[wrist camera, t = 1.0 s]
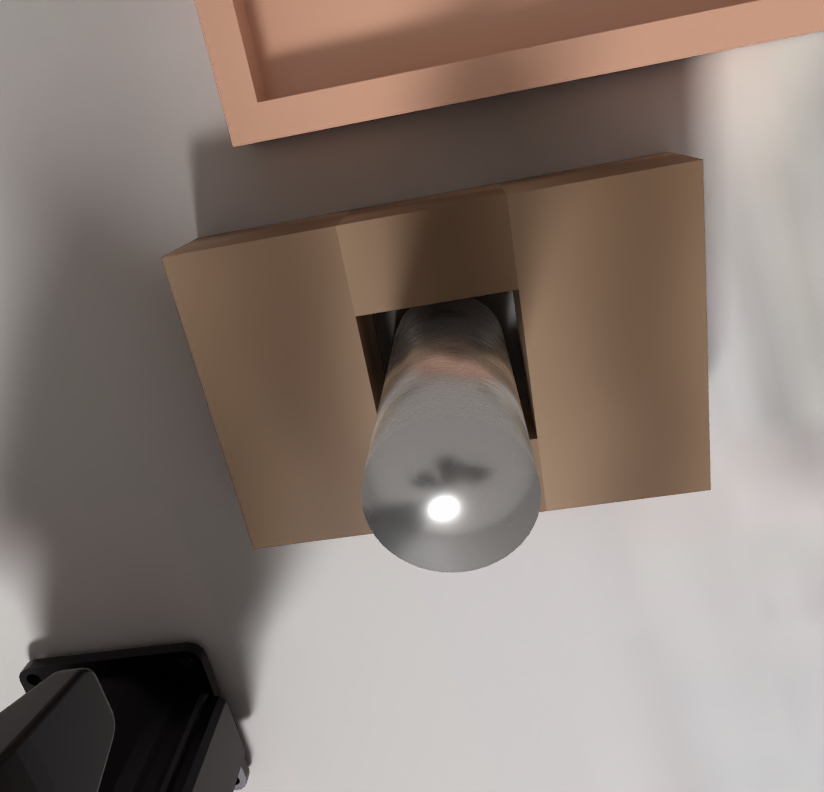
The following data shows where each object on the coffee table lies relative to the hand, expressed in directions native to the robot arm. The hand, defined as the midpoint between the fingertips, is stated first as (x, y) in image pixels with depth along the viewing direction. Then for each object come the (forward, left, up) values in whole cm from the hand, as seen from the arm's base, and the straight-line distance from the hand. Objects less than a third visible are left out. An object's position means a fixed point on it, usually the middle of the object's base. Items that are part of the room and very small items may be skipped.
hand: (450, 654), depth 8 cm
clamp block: (0, 0, -12) cm, 12 cm away
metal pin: (0, 0, -12) cm, 12 cm away
